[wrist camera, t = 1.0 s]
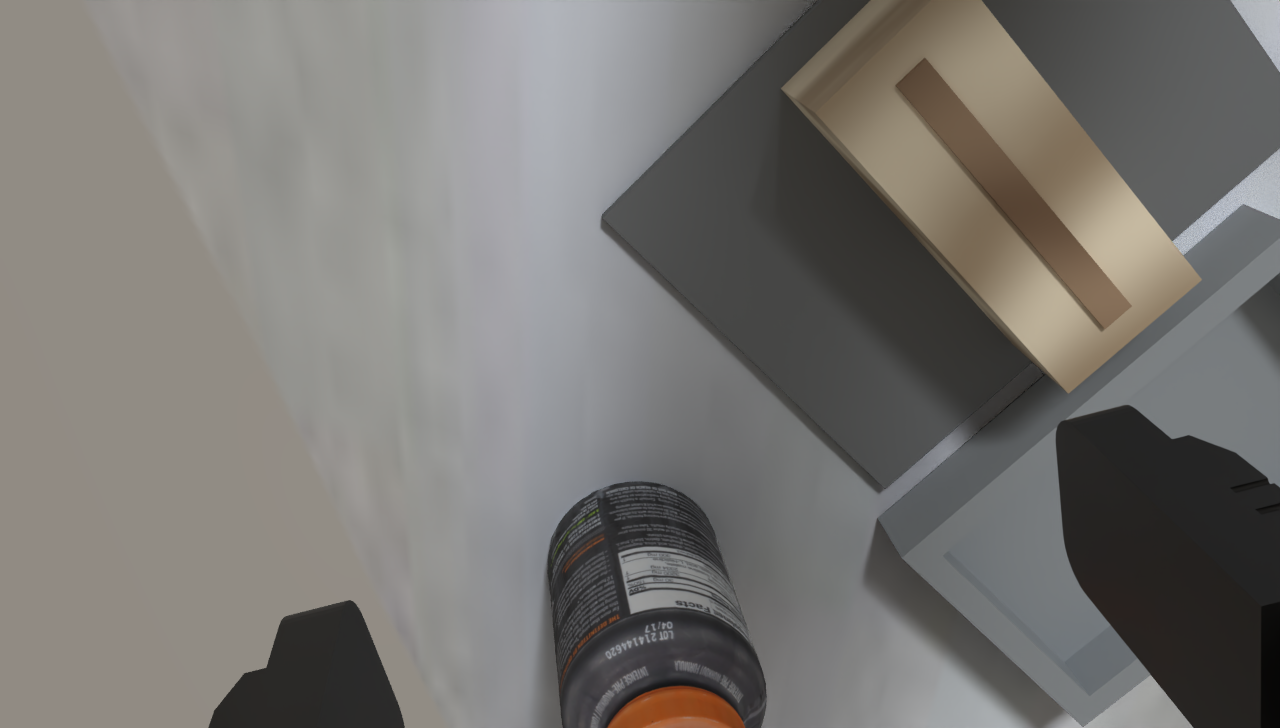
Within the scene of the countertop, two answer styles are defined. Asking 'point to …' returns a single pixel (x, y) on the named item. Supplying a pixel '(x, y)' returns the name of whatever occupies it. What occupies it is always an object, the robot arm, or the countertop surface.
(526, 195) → the countertop surface
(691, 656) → the pill bottle
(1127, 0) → the rubber mat
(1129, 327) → the wooden block
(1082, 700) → the slate tray
